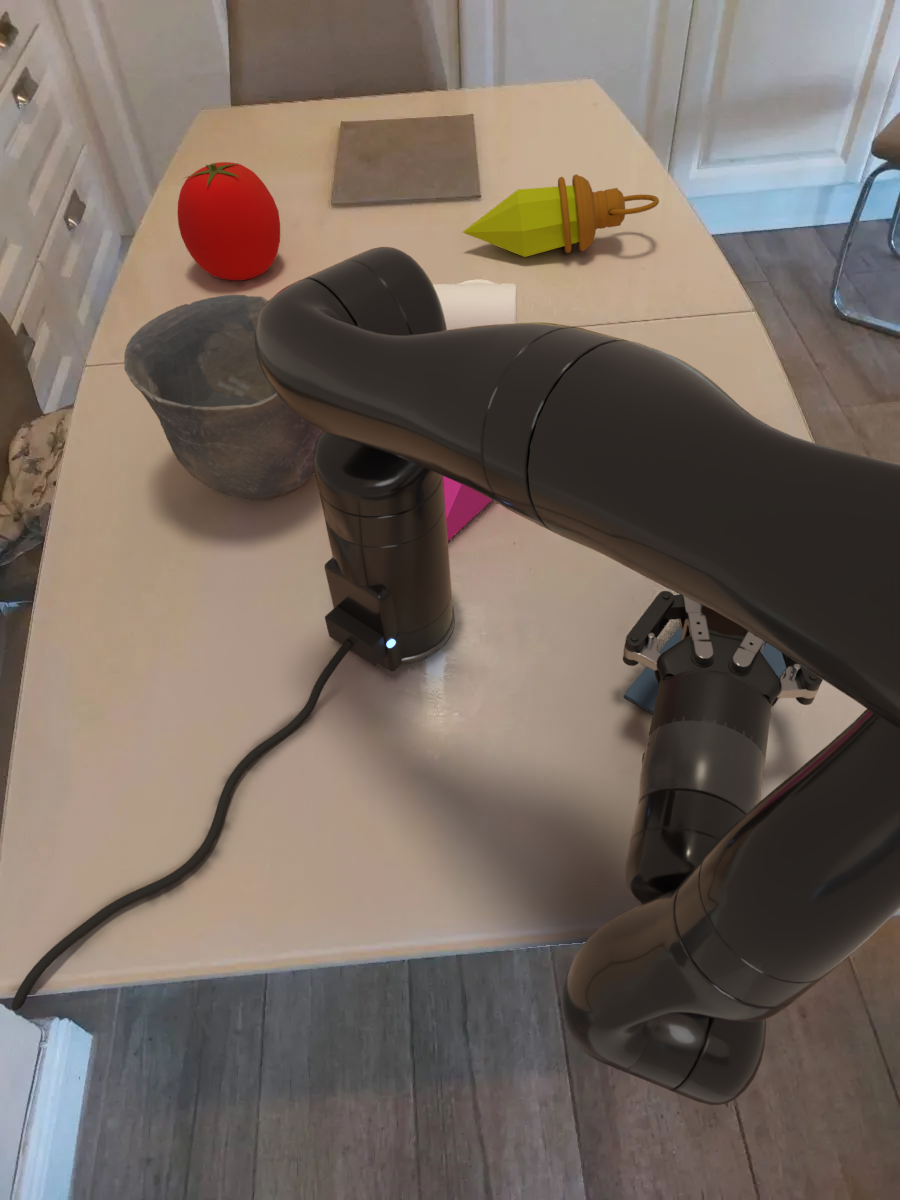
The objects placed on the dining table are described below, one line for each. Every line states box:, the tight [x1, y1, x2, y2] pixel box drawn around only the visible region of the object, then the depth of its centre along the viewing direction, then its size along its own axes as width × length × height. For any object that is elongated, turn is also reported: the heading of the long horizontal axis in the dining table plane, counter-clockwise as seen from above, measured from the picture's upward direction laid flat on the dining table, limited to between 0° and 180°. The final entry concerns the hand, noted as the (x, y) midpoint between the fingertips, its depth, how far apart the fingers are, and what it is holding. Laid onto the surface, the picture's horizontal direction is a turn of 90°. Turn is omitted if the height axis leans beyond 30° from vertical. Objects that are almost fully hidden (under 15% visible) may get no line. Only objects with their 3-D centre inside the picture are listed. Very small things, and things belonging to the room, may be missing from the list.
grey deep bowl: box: [123, 294, 322, 501], centre depth 87 cm, size 18×18×15 cm
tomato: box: [176, 161, 281, 281], centre depth 114 cm, size 13×11×14 cm
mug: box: [432, 278, 518, 330], centre depth 103 cm, size 12×10×8 cm
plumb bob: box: [462, 173, 660, 258], centre depth 116 cm, size 9×9×25 cm
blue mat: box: [623, 625, 787, 715], centre depth 74 cm, size 12×9×1 cm
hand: (734, 572), depth 70 cm, fingers closed on walnut block, 4 cm apart
